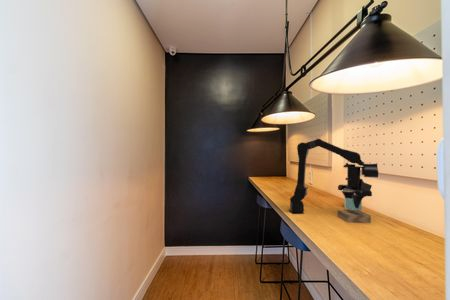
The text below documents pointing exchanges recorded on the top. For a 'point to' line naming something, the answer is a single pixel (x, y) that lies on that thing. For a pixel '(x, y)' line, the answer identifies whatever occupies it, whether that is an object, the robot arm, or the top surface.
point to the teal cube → (352, 204)
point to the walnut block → (354, 216)
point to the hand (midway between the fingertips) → (353, 206)
